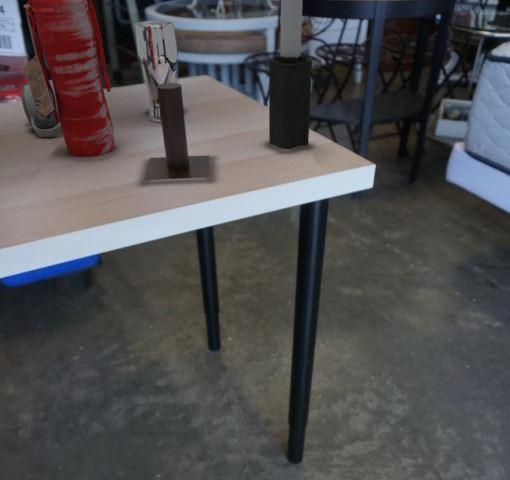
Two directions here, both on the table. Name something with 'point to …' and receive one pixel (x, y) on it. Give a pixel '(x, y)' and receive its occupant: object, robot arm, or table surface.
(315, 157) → the table surface
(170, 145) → the walnut peg
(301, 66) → the candle
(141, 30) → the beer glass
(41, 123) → the ceramic mug
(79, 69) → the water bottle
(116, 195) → the table surface
